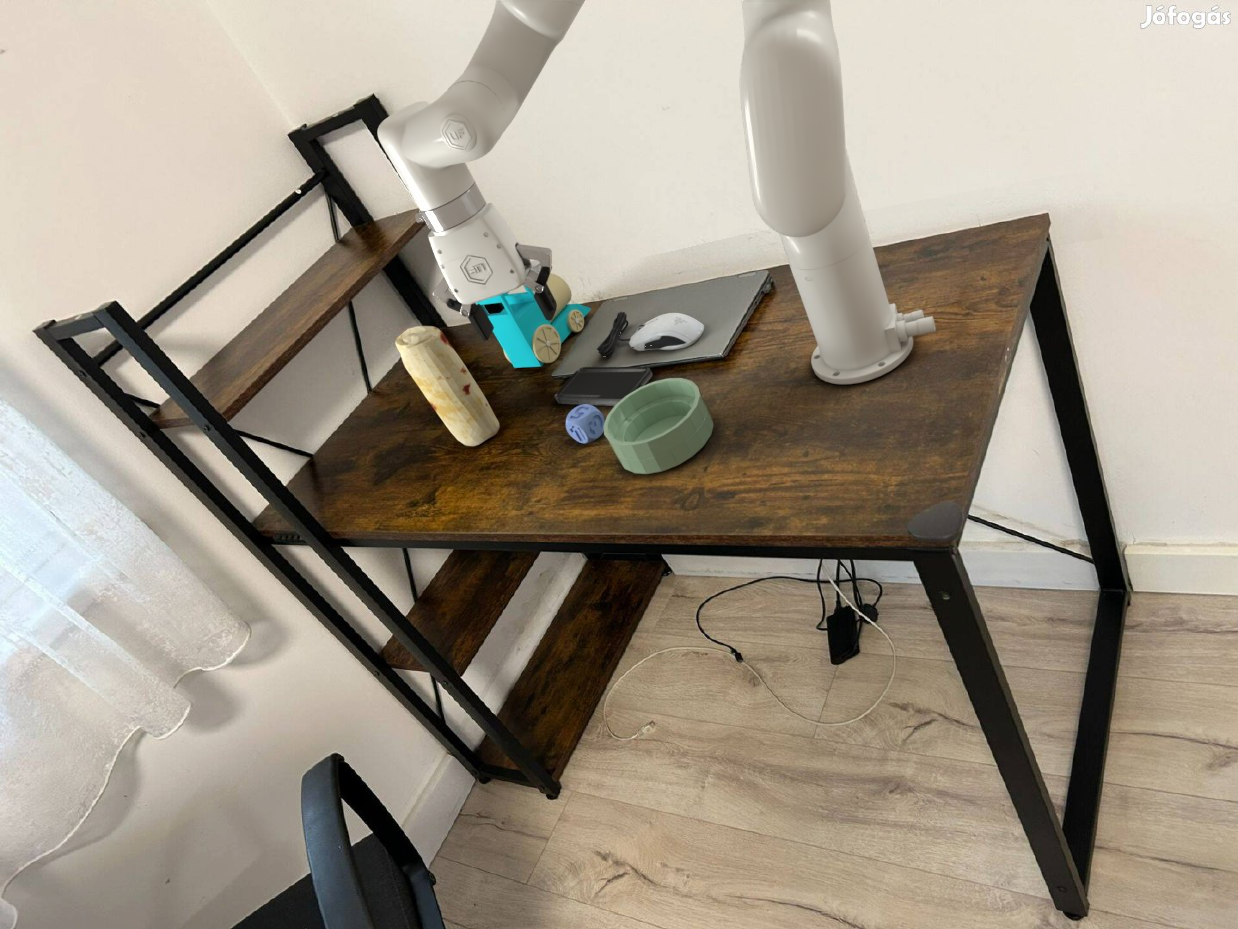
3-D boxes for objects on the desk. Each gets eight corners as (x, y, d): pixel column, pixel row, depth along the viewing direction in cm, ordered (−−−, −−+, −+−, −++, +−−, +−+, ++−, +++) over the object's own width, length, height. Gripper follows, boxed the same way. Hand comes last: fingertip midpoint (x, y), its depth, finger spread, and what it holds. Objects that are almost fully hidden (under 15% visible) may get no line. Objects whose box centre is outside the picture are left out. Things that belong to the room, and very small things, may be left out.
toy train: (597, 312, 154) (559, 238, 146) (547, 370, 145) (503, 294, 137) (564, 315, 159) (525, 244, 151) (513, 372, 150) (470, 299, 142)
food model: (513, 420, 137) (447, 315, 126) (490, 449, 133) (420, 343, 122) (469, 422, 142) (403, 322, 132) (447, 450, 138) (376, 348, 128)
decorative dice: (573, 442, 124) (560, 420, 122) (590, 424, 126) (577, 402, 124) (592, 445, 121) (580, 423, 119) (609, 426, 123) (597, 404, 121)
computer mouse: (691, 354, 129) (681, 332, 126) (595, 363, 140) (584, 343, 137) (717, 315, 134) (708, 293, 132) (622, 326, 145) (612, 306, 143)
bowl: (722, 401, 116) (707, 369, 113) (705, 467, 106) (689, 433, 103) (633, 420, 122) (617, 389, 119) (610, 484, 112) (592, 452, 109)
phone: (579, 366, 138) (652, 366, 128) (582, 372, 139) (655, 372, 129) (551, 398, 134) (624, 400, 124) (554, 404, 135) (627, 406, 125)
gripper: (386, 244, 106) (457, 357, 116) (507, 198, 100) (572, 322, 109) (407, 218, 112) (473, 328, 121) (523, 172, 105) (583, 292, 115)
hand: (520, 325), depth 115 cm, fingers open, 9 cm apart
